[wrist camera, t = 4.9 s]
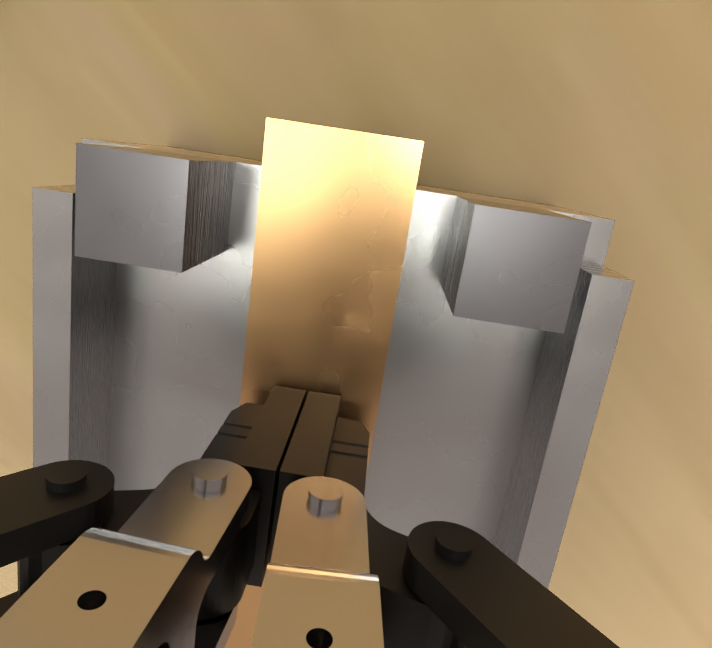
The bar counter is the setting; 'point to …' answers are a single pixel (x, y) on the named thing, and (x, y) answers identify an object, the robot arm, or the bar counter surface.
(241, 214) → the block
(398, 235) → the strap
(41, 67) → the bar counter surface
